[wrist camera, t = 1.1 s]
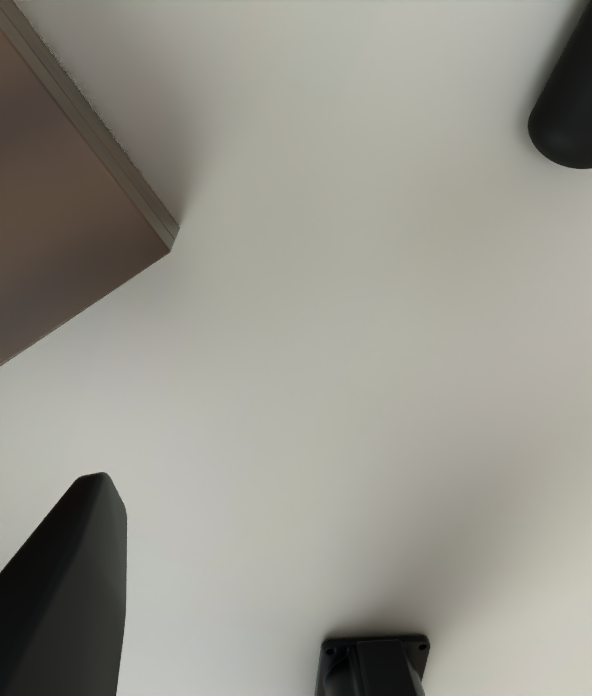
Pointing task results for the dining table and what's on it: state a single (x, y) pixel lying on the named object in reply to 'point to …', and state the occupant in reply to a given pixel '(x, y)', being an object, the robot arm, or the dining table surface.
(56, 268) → the brown wooden stand
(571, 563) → the dining table surface
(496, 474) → the dining table surface
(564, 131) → the black toy gun
